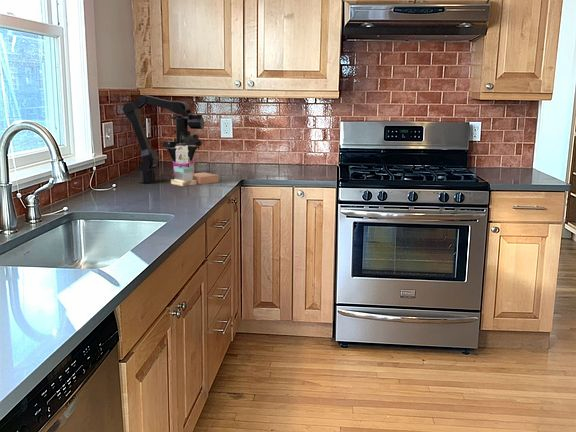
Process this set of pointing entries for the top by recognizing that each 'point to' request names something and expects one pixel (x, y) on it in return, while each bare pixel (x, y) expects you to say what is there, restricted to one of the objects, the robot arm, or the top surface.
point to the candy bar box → (183, 158)
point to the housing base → (183, 176)
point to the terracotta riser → (205, 178)
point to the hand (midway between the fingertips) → (182, 161)
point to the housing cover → (182, 169)
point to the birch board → (183, 182)
